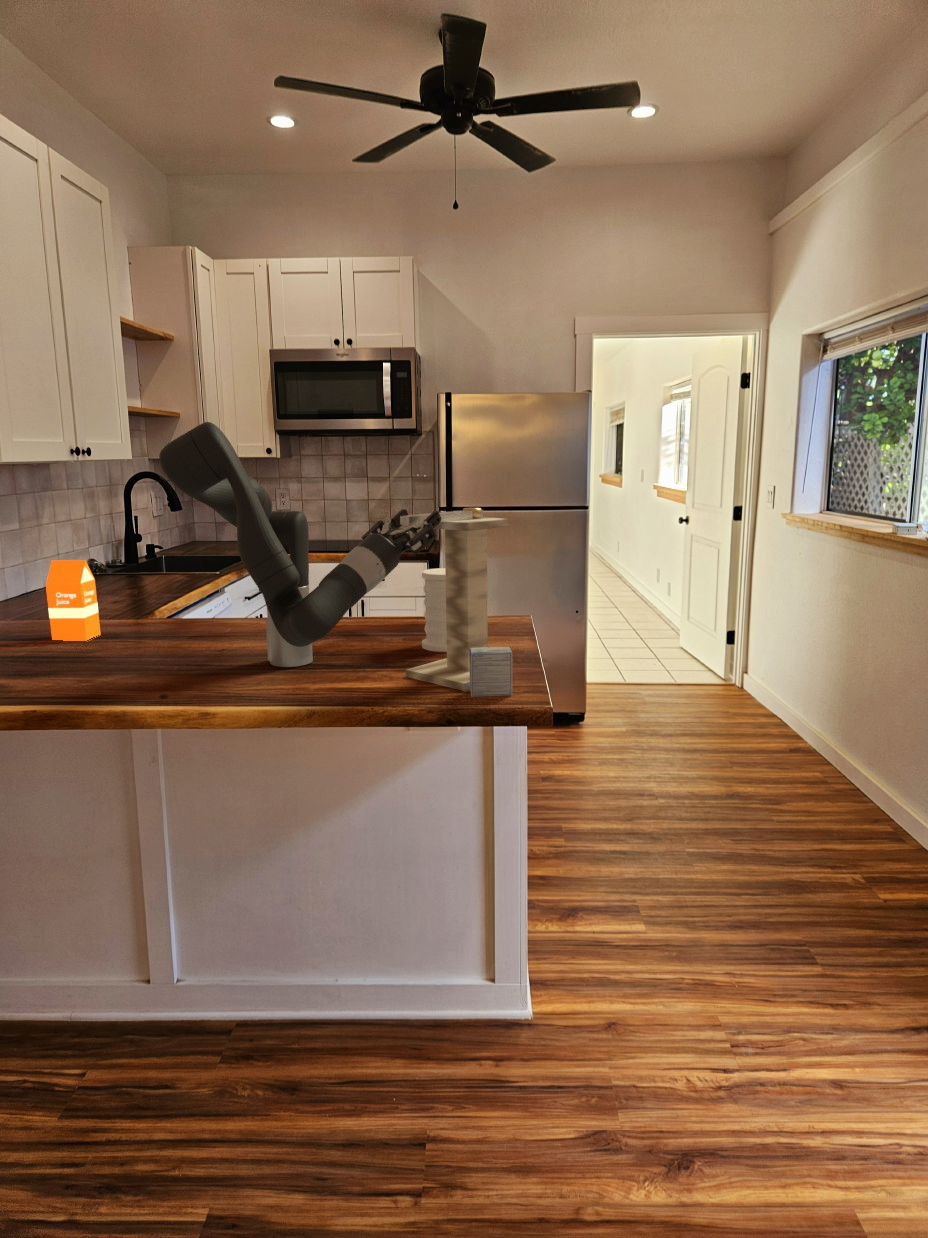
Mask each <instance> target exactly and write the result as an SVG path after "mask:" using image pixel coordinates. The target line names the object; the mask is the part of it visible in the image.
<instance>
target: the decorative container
mask: <svg viewBox="0 0 928 1238" xmlns="http://www.w3.org/2000/svg"><path fill="white" fill-rule="evenodd" d="M421 578H422V579H424V585H423V592H424V594H425V596H424V597H425V598H424V600H423V605H424V606H425V611H424V615H423V616H424V619H425V625H424V632H425V635H426V636H425V638H423V639H422V640H421V648H422V649H424V650H426V651H429V652H437V653H447V634H446V572H445V567H440V568H437V567H436V568H428V569H425V570H421Z"/></svg>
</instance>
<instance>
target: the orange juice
mask: <svg viewBox="0 0 928 1238" xmlns="http://www.w3.org/2000/svg"><path fill="white" fill-rule="evenodd" d="M46 579H47V580H46V584H45V589H46V590H45V591H46V599H47V606H48V608H47V610H48V618H49V623H50V633H51V634H50V635H51V639H52V640H63V641H87V640H89V639H91V638H93V637H95V638H97V637H99V636H101V626H100V616H99V606H98V605H99V603H98V599H97V587H96V579H95V577H94V575H93V573H92V570H91V569H90V567H89V565H88V562H87V560H86V559H60V560H59V559H57V560H56V559H52V560H51V563H50V567H49V570H48V575H47V578H46ZM98 635H99V636H98ZM96 636H97V637H96ZM93 639H94V638H93ZM52 640H51V641H52ZM91 640H92V639H91ZM89 641H90V640H89ZM87 642H88V641H87Z"/></svg>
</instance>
